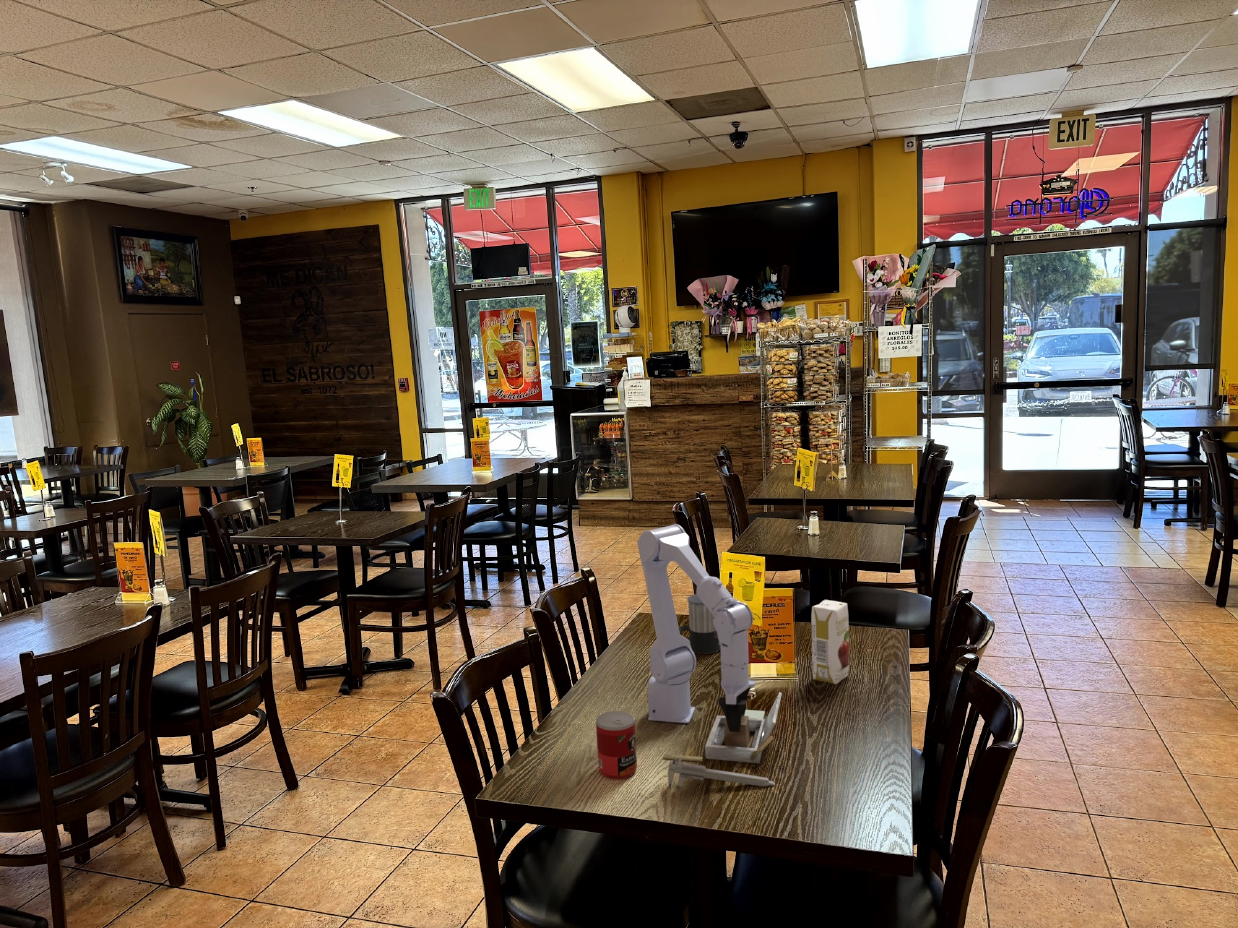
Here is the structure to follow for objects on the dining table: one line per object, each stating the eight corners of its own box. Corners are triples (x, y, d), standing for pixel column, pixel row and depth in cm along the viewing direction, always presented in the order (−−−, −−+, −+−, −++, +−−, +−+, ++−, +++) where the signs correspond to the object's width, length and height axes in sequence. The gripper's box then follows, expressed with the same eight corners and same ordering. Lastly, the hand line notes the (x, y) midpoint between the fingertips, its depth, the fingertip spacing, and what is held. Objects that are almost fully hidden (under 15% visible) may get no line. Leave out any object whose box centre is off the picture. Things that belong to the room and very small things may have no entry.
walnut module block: (725, 748, 175) (724, 721, 174) (728, 738, 179) (727, 712, 178) (746, 749, 174) (745, 723, 173) (749, 740, 178) (748, 714, 177)
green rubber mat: (724, 724, 186) (724, 723, 186) (730, 709, 193) (730, 708, 193) (760, 727, 183) (760, 726, 183) (764, 712, 191) (764, 711, 191)
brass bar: (663, 760, 172) (663, 756, 172) (664, 758, 173) (664, 753, 173) (702, 763, 170) (701, 759, 170) (702, 760, 171) (702, 756, 170)
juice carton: (809, 679, 208) (807, 606, 206) (825, 669, 215) (823, 597, 212) (837, 686, 203) (835, 611, 201) (852, 675, 210) (851, 602, 207)
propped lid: (749, 760, 167) (748, 722, 166) (758, 725, 182) (757, 690, 181) (775, 763, 166) (774, 724, 165) (782, 727, 181) (781, 691, 180)
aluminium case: (705, 758, 171) (705, 746, 170) (717, 726, 185) (717, 715, 185) (759, 763, 168) (759, 750, 167) (767, 730, 182) (767, 718, 182)
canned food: (624, 783, 163) (622, 730, 161) (590, 774, 167) (587, 722, 165) (644, 766, 169) (642, 714, 168) (611, 757, 173) (608, 707, 172)
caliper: (668, 789, 160) (667, 758, 159) (668, 786, 161) (667, 755, 160) (775, 787, 159) (774, 756, 158) (774, 784, 160) (773, 753, 159)
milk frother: (719, 655, 228) (717, 603, 226) (663, 653, 232) (661, 602, 230) (725, 638, 242) (723, 588, 240) (672, 636, 246) (669, 587, 244)
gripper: (749, 675, 166) (751, 739, 168) (757, 650, 180) (760, 709, 182) (714, 673, 168) (717, 737, 170) (725, 648, 182) (727, 707, 184)
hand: (737, 722), depth 176 cm, fingers open, 7 cm apart
